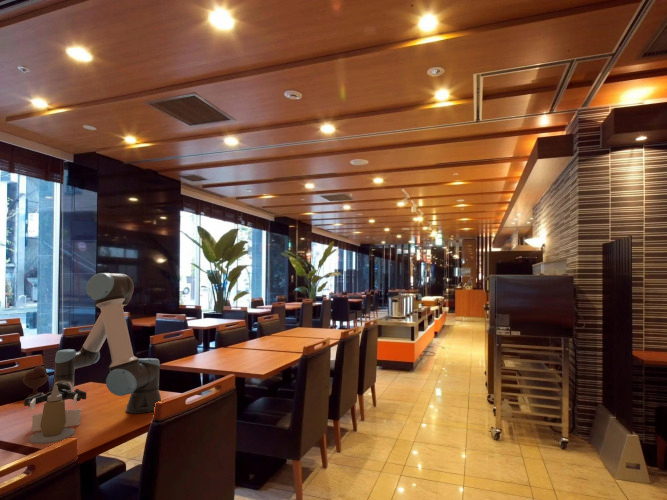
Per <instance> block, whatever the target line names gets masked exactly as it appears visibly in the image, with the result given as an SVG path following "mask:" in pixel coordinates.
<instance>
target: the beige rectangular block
mask: <svg viewBox="0 0 667 500" xmlns="http://www.w3.org/2000/svg"><path fill="white" fill-rule="evenodd" d="M81 410H82V409H81V408H76V409H74V408H73V409H68V410H66V409H65V416H66V423H65V426H64V428H69V427H74V426H80V424H81V413H82V411H81ZM42 414H43V412H42V413H35V414H33V415H32V421H31V422H32V424H31V432H40V431H42V430H41V427H40V425H41V419H42Z"/></svg>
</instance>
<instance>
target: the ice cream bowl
mask: <svg viewBox="0 0 667 500" xmlns="http://www.w3.org/2000/svg"><path fill="white" fill-rule="evenodd" d="M49 377H50V376H49V375H48V374H47V371H46V368H45V367H44V366H41V365H40V366H36V367H34V368H33V369H31V370H29V371H27V372H26V374H25V375H24V377H23V378H22V383H23V384H24V385H25V386H26V387H28V388H30V389H32V393H31V394H29V395H28V397H27V398H29V397H31V396H34V395H37V394H38V393H39V392H38V389H39V388H40V387H42V386H43V385H45V384H46V383H47V382H48V380H49Z"/></svg>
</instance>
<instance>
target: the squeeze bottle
mask: <svg viewBox="0 0 667 500" xmlns="http://www.w3.org/2000/svg"><path fill="white" fill-rule="evenodd" d="M61 399H62V394H59V391H58V386H54V387H53V390H52V394H51V395H50V396H48V398H47V401H48V402H46V401H45V403H44V404H43V408H42V409H43V410H42V413H43V414H42V419H41V425H40V427H41V430H40V431H42V433H43V436H55V435H58V434H60V433H62V431H63V428H65V427H64V426H65V423H66V416H65V411H66V404H65V403H66V402H65V401H66V400H61Z"/></svg>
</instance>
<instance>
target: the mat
mask: <svg viewBox="0 0 667 500" xmlns="http://www.w3.org/2000/svg"><path fill="white" fill-rule="evenodd" d="M74 434H75V429H74V428H71V427H64V428H63V431H62V433H60V434H58V435H55V436H43V433H42V430H40V431H37V432H36V433H34V434H32V435H31V436H30V437H29V440H30V441H29V443H31V442H32V443H31V444H35V443H38V445H43V444H50V443H56V442H60V441H63V439H64V440H66V439H68V438H70V437H69V436H71V437H72V436H74Z"/></svg>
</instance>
